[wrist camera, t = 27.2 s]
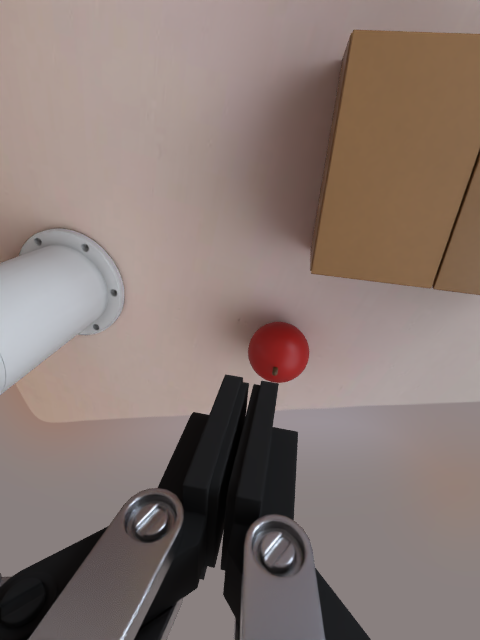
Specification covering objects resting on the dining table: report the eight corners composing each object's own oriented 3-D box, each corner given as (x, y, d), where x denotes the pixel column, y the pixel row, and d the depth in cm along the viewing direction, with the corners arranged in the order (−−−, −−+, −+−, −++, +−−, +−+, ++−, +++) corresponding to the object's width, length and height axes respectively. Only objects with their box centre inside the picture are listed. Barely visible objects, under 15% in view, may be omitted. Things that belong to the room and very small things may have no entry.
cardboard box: (310, 250, 33) (310, 274, 27) (342, 58, 26) (352, 28, 20) (513, 273, 31) (566, 306, 24) (606, 69, 24) (715, 39, 17)
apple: (250, 356, 40) (239, 395, 33) (255, 308, 37) (244, 340, 31) (304, 365, 39) (303, 406, 33) (314, 316, 36) (314, 351, 30)
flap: (311, 272, 27) (311, 273, 27) (352, 31, 20) (353, 29, 20) (429, 286, 26) (431, 288, 25) (515, 37, 19) (519, 35, 19)
